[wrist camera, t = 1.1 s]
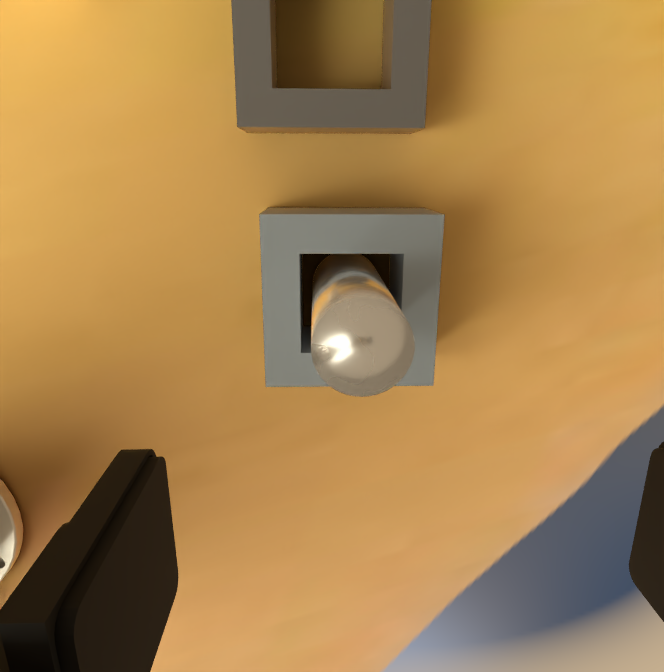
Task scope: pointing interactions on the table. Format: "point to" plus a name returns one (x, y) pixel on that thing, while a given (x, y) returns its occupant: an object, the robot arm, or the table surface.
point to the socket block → (347, 238)
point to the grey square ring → (332, 104)
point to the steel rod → (357, 328)
